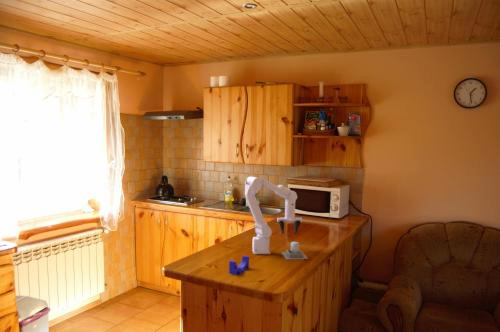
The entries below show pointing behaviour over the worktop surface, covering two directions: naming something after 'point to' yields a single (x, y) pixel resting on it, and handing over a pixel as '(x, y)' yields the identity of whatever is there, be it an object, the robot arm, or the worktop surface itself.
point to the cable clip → (240, 269)
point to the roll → (294, 247)
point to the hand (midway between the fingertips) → (289, 233)
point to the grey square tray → (294, 255)
